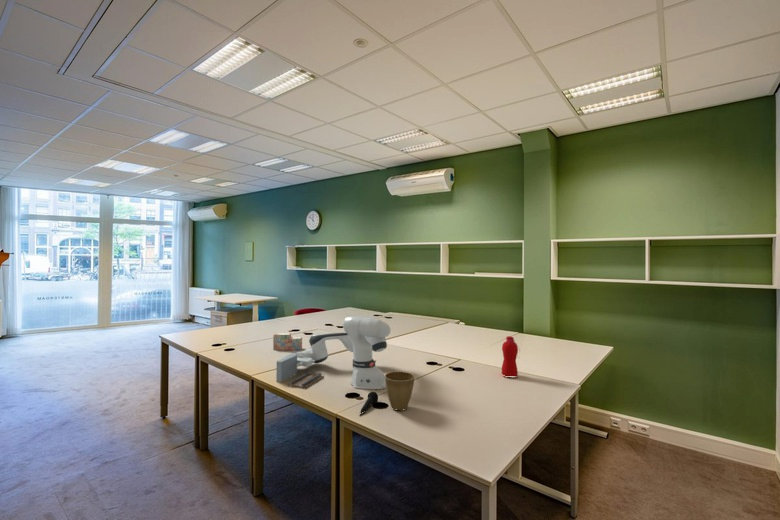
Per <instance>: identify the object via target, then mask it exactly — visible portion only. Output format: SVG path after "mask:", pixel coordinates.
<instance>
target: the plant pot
mask: <svg viewBox="0 0 780 520" xmlns="http://www.w3.org/2000/svg"><path fill="white" fill-rule="evenodd" d="M384 376H385V382H386V387H385V389H386V393H387V398H388V401H389V404H390V407H391V409H392V408H393V409H397V410H403V409H406V410H407V408H408V406H409V403H410V400H411V397H412V393H413V389H414V384H415V380H416V379H415V375H414V374H412V373H411V372H407V371H391V372H388V373H386V374H384ZM393 409H392V410H393ZM403 411H404V410H403Z"/></svg>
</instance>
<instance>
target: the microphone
mask: <svg viewBox="0 0 780 520" xmlns="http://www.w3.org/2000/svg"><path fill="white" fill-rule="evenodd" d="M378 400H379V395H378V393H377V392H376V391H370V392H369V393H368V394H367V399H366V401H365V402H364V404H363V405H362V407H361V409H360V412H359V414H360V413H362V412H364V411H366V410H367V411H368V410H369V408H370V407H371V406H372V405H373V402H375V403H377V402H378ZM367 411H366V412H367Z"/></svg>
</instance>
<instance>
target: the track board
mask: <svg viewBox="0 0 780 520" xmlns="http://www.w3.org/2000/svg"><path fill="white" fill-rule="evenodd" d="M323 377H324V378H325V376H324V375H322V372H320V373H317V374H315V373H313V374H312V371H308V372H306V373H304V374H301V376H299V377H296V378H295V379H293V380H292V381H290V382H289V383H288V384H287V387H291V386H292V388H299V389H304V388H305V389H308V388H309V387H311V386H313V385H314V384H315V382H316V383H318V382H319V381H320V379H321V380H322V379H324V378H323ZM312 384H313V385H312Z"/></svg>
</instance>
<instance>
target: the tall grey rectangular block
mask: <svg viewBox="0 0 780 520" xmlns="http://www.w3.org/2000/svg"><path fill="white" fill-rule="evenodd" d="M295 364H297V355H293V354H292V355H290V356H288V357H285V358H283V359H282V358H281V359H279V360H276V377H275V378H276V382H278V381H280V382H279V383H283V382H285V381H286V380H289V379H291V376H292V377H294V376H296V375H298V367H296V365H295ZM295 374H296V375H295ZM293 375H294V376H293ZM282 381H283V382H282Z"/></svg>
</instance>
